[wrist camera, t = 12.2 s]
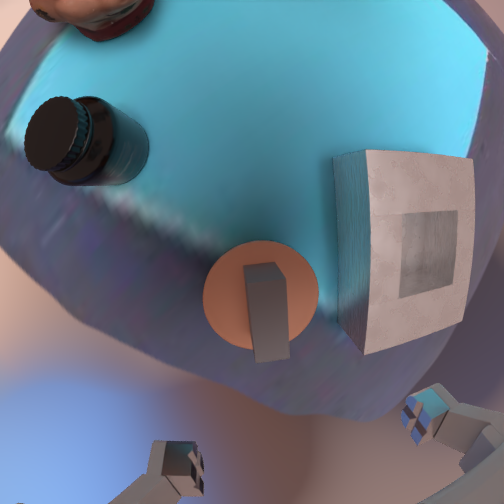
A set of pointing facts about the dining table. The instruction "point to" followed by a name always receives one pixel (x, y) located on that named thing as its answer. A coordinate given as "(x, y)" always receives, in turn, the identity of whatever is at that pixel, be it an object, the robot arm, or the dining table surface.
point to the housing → (402, 244)
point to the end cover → (260, 297)
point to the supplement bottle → (85, 142)
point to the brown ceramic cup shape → (95, 15)
